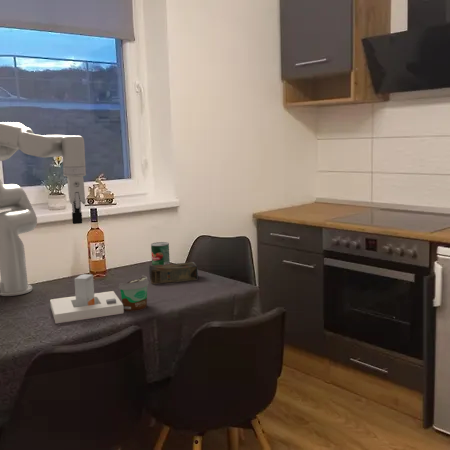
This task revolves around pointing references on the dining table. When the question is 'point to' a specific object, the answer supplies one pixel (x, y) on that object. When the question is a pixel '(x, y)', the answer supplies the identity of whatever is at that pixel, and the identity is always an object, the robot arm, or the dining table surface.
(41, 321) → the dining table surface
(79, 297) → the skincare box
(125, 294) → the food container
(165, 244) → the canned tomato
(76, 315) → the socket plate
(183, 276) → the olive curved block
